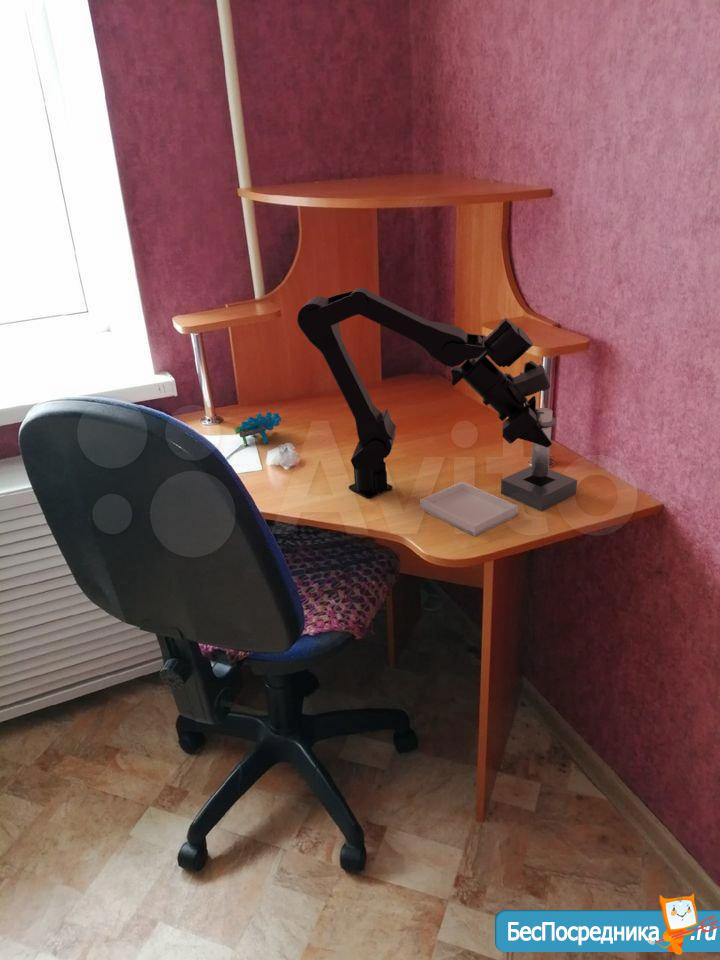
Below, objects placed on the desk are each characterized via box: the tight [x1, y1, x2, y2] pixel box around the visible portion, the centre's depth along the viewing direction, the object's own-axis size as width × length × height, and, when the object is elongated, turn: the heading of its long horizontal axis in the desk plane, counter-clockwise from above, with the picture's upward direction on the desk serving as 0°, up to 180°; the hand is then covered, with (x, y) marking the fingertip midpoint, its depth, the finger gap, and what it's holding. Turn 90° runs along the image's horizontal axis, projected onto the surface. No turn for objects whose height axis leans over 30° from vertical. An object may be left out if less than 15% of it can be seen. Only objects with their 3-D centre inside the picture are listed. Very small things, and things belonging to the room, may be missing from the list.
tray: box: [419, 481, 518, 537], centre depth 139 cm, size 14×11×2 cm
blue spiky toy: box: [234, 411, 283, 444], centre depth 174 cm, size 11×6×10 cm
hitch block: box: [500, 466, 578, 512], centre depth 144 cm, size 10×10×3 cm
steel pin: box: [530, 407, 556, 477], centre depth 140 cm, size 4×4×12 cm
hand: (549, 441), depth 139 cm, fingers closed on steel pin, 4 cm apart
